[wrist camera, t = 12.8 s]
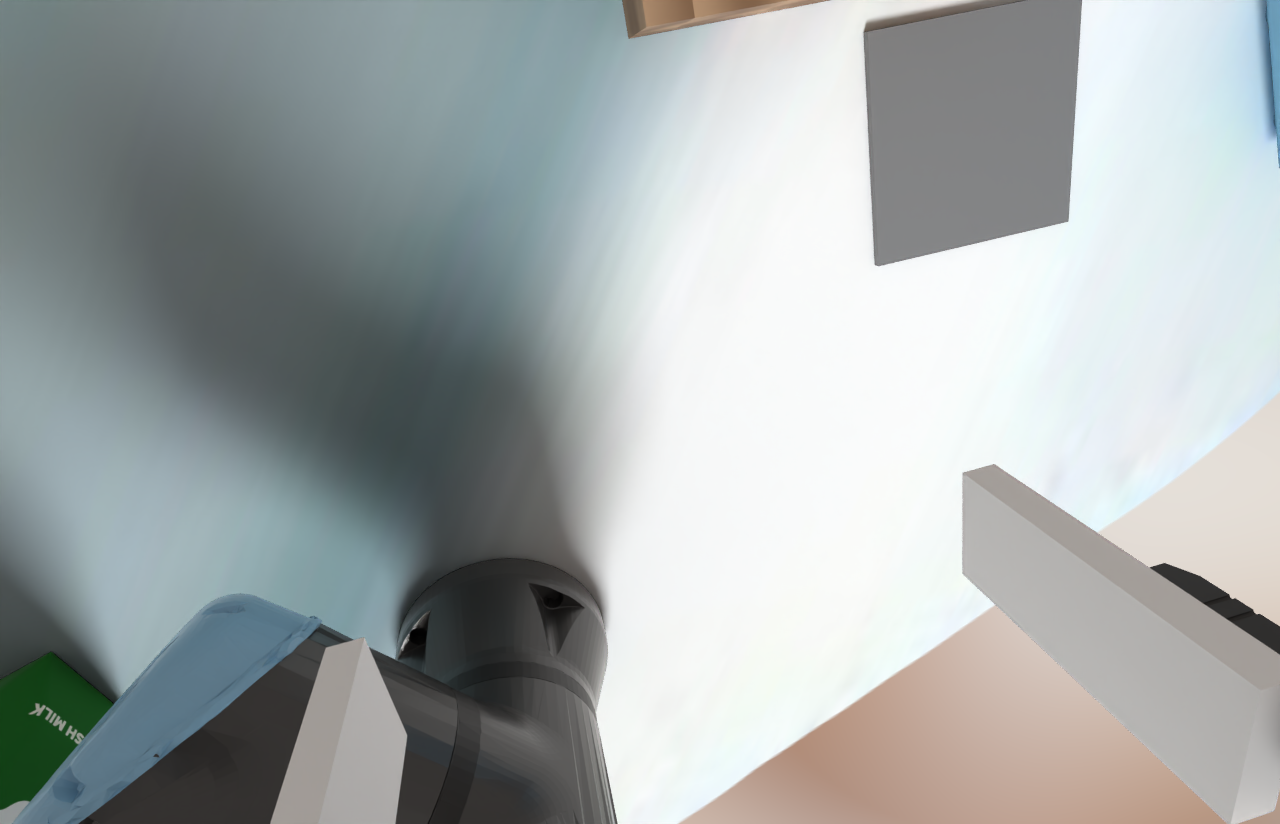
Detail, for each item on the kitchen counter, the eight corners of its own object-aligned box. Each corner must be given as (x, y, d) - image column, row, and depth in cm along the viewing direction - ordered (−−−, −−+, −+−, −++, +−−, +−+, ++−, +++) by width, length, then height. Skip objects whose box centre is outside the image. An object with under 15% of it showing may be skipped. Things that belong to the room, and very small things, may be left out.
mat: (874, 264, 47) (878, 266, 47) (863, 32, 42) (867, 31, 41) (1062, 220, 49) (1068, 221, 48) (1076, -10, 43) (1082, -11, 43)
